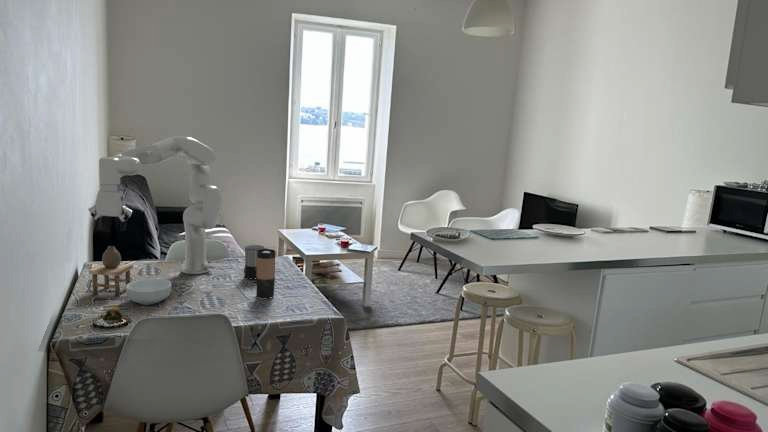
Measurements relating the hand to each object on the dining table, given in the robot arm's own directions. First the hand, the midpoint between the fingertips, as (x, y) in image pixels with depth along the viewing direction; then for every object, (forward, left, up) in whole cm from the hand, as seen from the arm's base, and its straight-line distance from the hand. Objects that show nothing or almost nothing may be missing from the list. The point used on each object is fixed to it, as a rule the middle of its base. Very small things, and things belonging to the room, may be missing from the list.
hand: (111, 229), depth 219 cm
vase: (0, 0, -16) cm, 16 cm away
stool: (0, 0, -26) cm, 26 cm away
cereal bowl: (-19, +8, -26) cm, 34 cm away
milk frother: (-49, -38, -26) cm, 67 cm away
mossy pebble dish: (-17, +33, -27) cm, 46 cm away
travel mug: (-62, -7, -26) cm, 68 cm away
